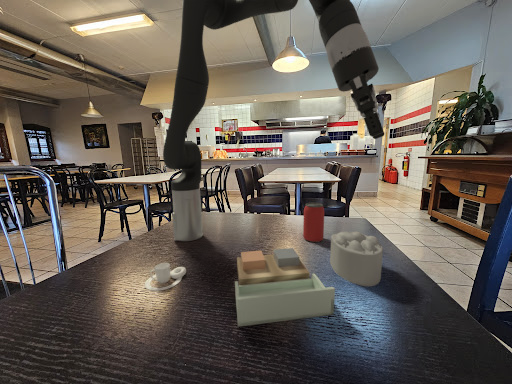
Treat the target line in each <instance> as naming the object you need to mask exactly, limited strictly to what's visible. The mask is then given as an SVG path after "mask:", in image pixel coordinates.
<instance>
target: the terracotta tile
mask: <svg viewBox="0 0 512 384" xmlns="http://www.w3.org/2000/svg"><path fill="white" fill-rule="evenodd" d="M240 255H241V256H240V257H241V261H242V267H243V270H252V269H263V268H265V258H264V256H263V255H264V254H263V251H262V250H250V251H241V252H240Z"/></svg>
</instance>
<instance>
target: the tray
mask: <svg viewBox="0 0 512 384" xmlns="http://www.w3.org/2000/svg"><path fill="white" fill-rule="evenodd" d="M234 290H235V291H234V293H235V305H236V306H235V307H236V308H235V309H236V316H237V317H236V320H237V321H236V322H237V327H238V328H239V327H247V326H255V325H262V324H269V323H277V322H287V321H292V320H293V321H294V320H301V319H308V318H316V317H317V318H319V317H325V316H333V315H334V314H335V297H336V296H335V294H336V289H335V287H334V286H327V287H325V285H324V284H323V282H322V281H321V280H320V278H319V277H318V275H316V274H315V273H312V274H311V278H310V277H309V278H308V279H298V280H288V281H279V282H269V283H259V284H249V285H239V280H236V281H234Z"/></svg>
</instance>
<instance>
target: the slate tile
mask: <svg viewBox="0 0 512 384" xmlns="http://www.w3.org/2000/svg"><path fill="white" fill-rule="evenodd" d="M272 253H273V257H274V260H275V262H276V264H277V266H278V267H285V266H296V265H299V259H300V256H299V254H298V253H297V252H296V250H295V248H293V247H289V248H288V247H287V248H276V249H273V251H272Z"/></svg>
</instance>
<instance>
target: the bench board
mask: <svg viewBox="0 0 512 384" xmlns="http://www.w3.org/2000/svg"><path fill="white" fill-rule="evenodd" d="M263 256H264V258H265V268H263V269H252V270H243V267H242V261H241V256H238V257H236V270H237V277H238V278H237V279H238V286H239V285H249V284H259V283H269V282H279V281H288V280H298V279H308V278H310V272H309V270H308V268H307V267H306V266H305V265H304V263H303V262H302V261H301V259H300V258H299V265H296V266H285V267H278V266H277V264H276V262H275V260H274V257H273V254H263Z"/></svg>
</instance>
